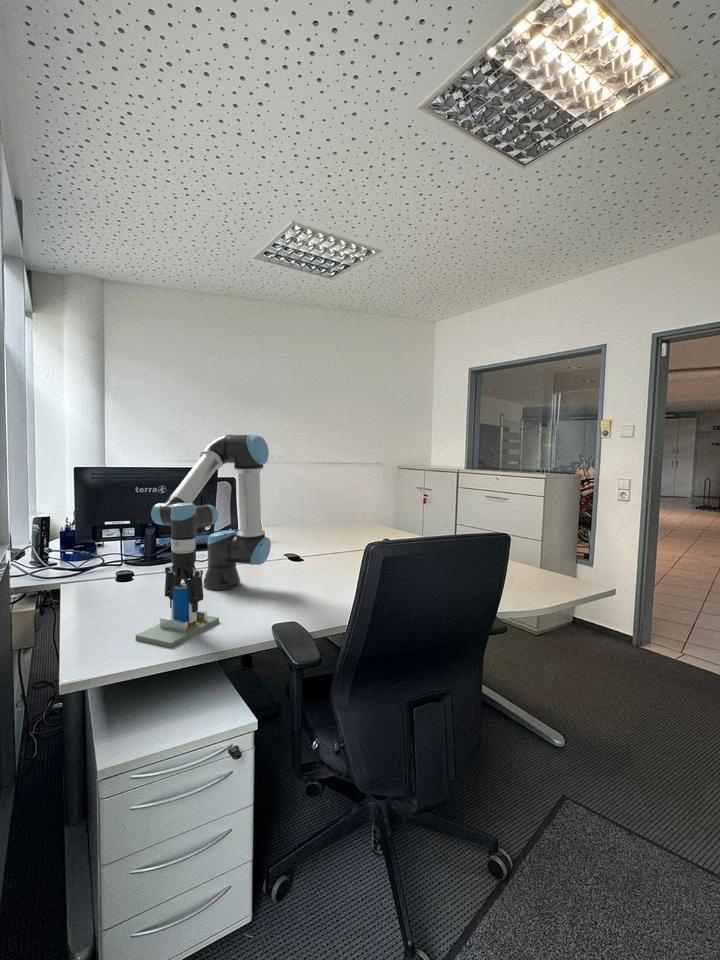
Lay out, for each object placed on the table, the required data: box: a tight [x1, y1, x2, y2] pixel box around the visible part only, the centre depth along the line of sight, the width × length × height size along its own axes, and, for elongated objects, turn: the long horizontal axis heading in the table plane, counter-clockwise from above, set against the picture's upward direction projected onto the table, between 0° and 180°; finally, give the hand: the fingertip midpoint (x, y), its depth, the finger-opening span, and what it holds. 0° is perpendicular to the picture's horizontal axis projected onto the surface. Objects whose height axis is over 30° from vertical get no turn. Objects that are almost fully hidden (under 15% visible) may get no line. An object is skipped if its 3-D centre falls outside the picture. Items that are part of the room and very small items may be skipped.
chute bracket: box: [159, 609, 208, 632], centre depth 150 cm, size 10×10×3 cm
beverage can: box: [173, 582, 191, 623], centre depth 150 cm, size 6×6×12 cm
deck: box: [135, 615, 220, 649], centre depth 149 cm, size 14×22×2 cm, turn 159°
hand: (183, 619), depth 150 cm, fingers closed on beverage can, 6 cm apart
